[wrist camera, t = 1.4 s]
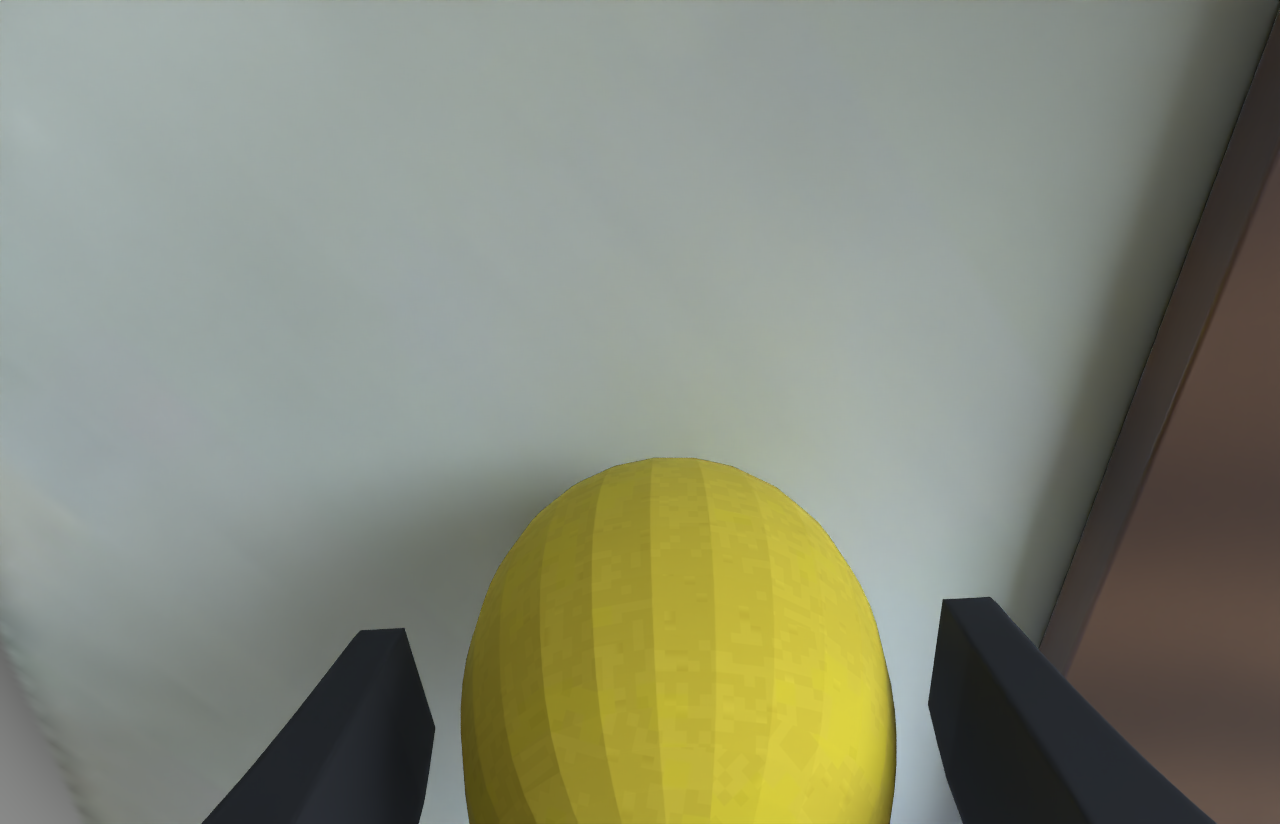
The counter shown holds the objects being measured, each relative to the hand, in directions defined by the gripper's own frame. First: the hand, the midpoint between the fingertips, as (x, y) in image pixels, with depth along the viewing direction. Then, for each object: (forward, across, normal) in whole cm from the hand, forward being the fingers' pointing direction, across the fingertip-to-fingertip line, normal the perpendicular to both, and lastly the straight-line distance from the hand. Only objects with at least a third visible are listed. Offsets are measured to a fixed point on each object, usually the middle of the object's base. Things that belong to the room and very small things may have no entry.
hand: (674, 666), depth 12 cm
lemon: (+4, 0, 0) cm, 4 cm away
